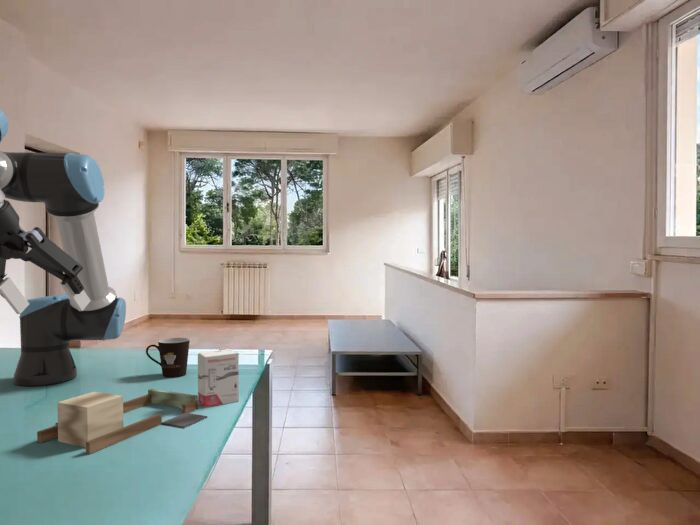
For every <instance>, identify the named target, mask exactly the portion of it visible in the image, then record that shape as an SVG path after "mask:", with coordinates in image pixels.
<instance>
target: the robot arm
mask: <svg viewBox="0 0 700 525" xmlns="http://www.w3.org/2000/svg"><path fill="white" fill-rule="evenodd" d="M8 132H9V120H8V118H7V116H6V114H5V112H4V111H3V110H2V108H0V143H1V142H2V141H3V139H4V137H6V135H7V133H8ZM104 182H105V181H104V177H103V173H102V171H101V168H100V166H99V164H98V163H97V161H96V160H95V159H94V158H93V157H91V156H90V155H88V154H83V153H81V154H80V153H73V152H67V153H63V152H57V153H55V152H25V151H24V152H20V151H19V152H10V151H9V152H8V151H7V152H6V151H1V150H0V296H1V297H2V298H3V299H5V301H6V302H7V303H8V304H9V306H10V308H12V310H13V311H14V312H15V314H17V315H19V316H18V317H19V332H20V333H19V334H20V336H19V337H20V356H19V359H18V362H17V364H16V368H15V372H14V374H13V384H14V385H17V386H23V387H25V386H26V387H31V386H32V387H33V386H35V387H36V386H47V385H54V384H59V383H65V382H68V381H70V380H74V379H75V378H76V377H77V376H78V368H77V366H76V363H75V361H74V358H73V355H72V353H71V349H70V342H74V341H75V342H76V341H79V342H80V341H84V342H85V341H107V340H116V339H119V337H120V336H121V335H122V333H123V332H124V331H123V330H124V328H125V327H124V326H125V321H126V314H127V302H126V300H125V298H123V297H118V296H117V293H116V290H115V289H114V288H112V287H110V286H109V283H108V282H109V281H108V278H107V277H108V276H107V272H106V266H105V263H104V258H103V252H102V247H101V243H100V242H101V241H100V237H99V232H98V227H97V222H96V216H95V212H96V210H98V209H99V206H100V204H99V203H101V202H102V201H103V200H104V197H105V187H104V186H105V183H104ZM5 198H6V199H9V200H11V201H16V202H17V201H18V202H24V203H25V202H26V203H44V205H45V209H46V213H47V214H48V215H50V216H51V217H53V218H55V222H56V225H57V228H58V233H59V237H60V241H61V245H62V248H61V247H59V245H58V244H56V243H55V242H54V241H52V240H51V239H50V238H48V236H47V235H46V234H45V233H44V231H43V230H42V229H41V228H40V227H37V226H35V227H33V229H32V230H28V231H25V230H24V229H23V228H22V227H21V226H20V215H19V214H18V213H17V211H16V210H15V208H14V207H13V205H12V204H11V203H10V201H9V200H6V199H5ZM29 248H30V249H29ZM11 259H14V260H18V259H20V260H21V261H23V262H30V263H32V264H33V265H35V266H36V267H39V268H41V269H42V270H44V271H45V272H47V273H49V274H50V275H53V276H54V277H56V278H58V279H59V280H60V283H59V285H60V286H61V287H62V289H63V291H64V292H65V293H63V294H55V295H49V296H40V297H34V298H29V299H26V297H25V296H24V294H23V293H22V292H21V291H20V289H19V288H18V287H17V285H16V284H15V282H14V281H13V280H12V279H11V277H7V275H8V273H6V272H5V271H6V266H7V265H6V264H7V261H8V260H11Z"/></svg>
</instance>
